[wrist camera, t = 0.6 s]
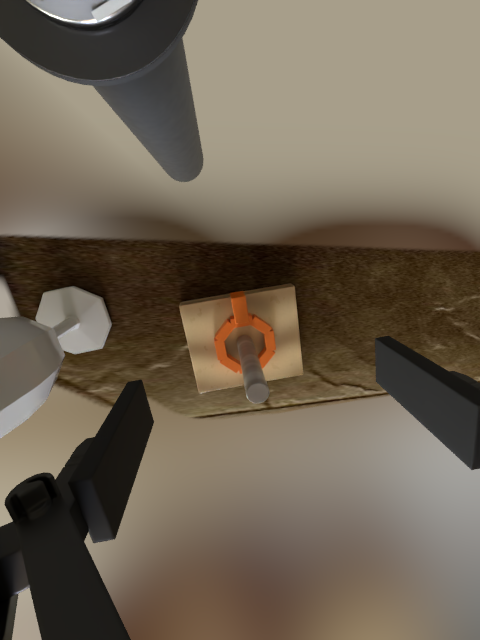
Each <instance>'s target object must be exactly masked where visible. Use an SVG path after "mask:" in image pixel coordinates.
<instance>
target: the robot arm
mask: <svg viewBox="0 0 480 640" xmlns="http://www.w3.org/2000/svg"><path fill="white" fill-rule="evenodd" d="M23 1H24V2H25V3H26V4H28V5H29V6H30V7H31V8H32V9H33V10H35V11H36V12H37V13H39V14H40V15H42V16H43V17H45V18H46V19H48V20H50V21H52V22H54V23H56V24H58V25H61V26H63V27H66V28H70V29H73V30H80V31H98V30H103V29H107V28H110V27H113V26H115V25H117V24H119V23H121V22H122V21H124V20H125V19H127V18H128V17H129V16H130V15H132V14H133V13H134V12H135V11H136V9H137V8H138V7H139V6H140V5H141V3H142V2H143V1H144V0H23ZM375 353H376V382H377V383H378V384H379V385H380V386H381V387H382V388H383V389H385V390H386V391H387V392H388V393H389V394H390V395H391V396H392V397H393V398H395V400H396V401H398V402H399V403H400V404H401V405H402V406H403V407H404V408H405V409H406V410H407V411H408V412H410V413H411V414H412V415H413V416H414V417H415V418H416V419H417V420H418V421H419V422H420V423H421V424H423V425H424V426H425V427H426V428H427V429H428V430H429V431H430V432H431V433H432V434H433V435H434V436H435V437H437V438H438V439H439V440H440V441H441V442H442V443H443V444H444V445H445V446H446V447H447V448H449V449H450V450H451V451H452V452H453V453H454V454H455V455H456V456H457V457H458V458H459V459H460V460H461V461H463V462H464V463H465V464H466V465H467V466H468V467H469V468H470V469H471V470H474V469H479V468H480V383H478V382H477V381H476V380H474V379H472V378H470V377H468V376H467V375H464V374H461V373H458V372H455V371H450V372H449V371H447V370H446V369H444V368H442V367H440V366H439V365H437V364H435V363H434V362H432V361H430V360H429V359H427V358H425V357H424V356H422V355H420V354H418V353H417V352H415V351H413V350H412V349H410V348H408V347H407V346H405V345H403V344H402V343H400V342H398V341H396V340H395V339H393V338H391V337H390V336H385V337H379V338H375ZM153 423H154V420H153V417H152V414H151V410H150V407H149V403H148V400H147V396H146V393H145V389H144V386H143V382H142V380H137V381H131V382H128V383H127V384H126V386H125V388H124V389H123V391H122V393H121V394H120V396H119V398H118V399H117V401H116V403H115V404H114V406H113V408H112V409H111V411H110V413H109V414H108V416H107V418H106V419H105V421H104V423H103V424H102V426H101V428H100V429H99V431H98V433H97V434H96V436H95V437H93V438H87V439H86V440H84V441H83V442H82V443H81V444H80V445H79V446H78V447H77V448H76V449H75V451H74V452H73V454H72V455H71V457H70V459H69V460H68V461H67V463H66V464H65V467H63V469H62V471H61V472H60V473H59V475H58V477H57V478H56V480H55V479H54V477H53V475H52V474H50V473H41V474H36V475H34V476H32V477H30V478H28V479H26V480H24V481H23V482H21V483H20V484H18V485H17V486H16V487H15V488H14V489H13V490H12V491H11V492H10V493H9V494H8V496H7V497H6V500H5V506H6V508H7V510H8V512H9V514H10V516H11V518H12V519H13V522H11V523H8V524H6V525H4V526H1V527H0V640H12V634H13V627H14V620H15V613H16V606H17V599H18V593H20V592H22V591H24V590H25V589H28V588H30V591H31V595H32V599H33V604H34V608H35V612H36V617H37V621H38V625H39V630H40V634H41V638H42V640H131V639H130V637H129V635H128V633H127V631H126V629H125V627H124V624H123V622H122V620H121V618H120V616H119V614H118V612H117V610H116V608H115V606H114V604H113V602H112V599H111V597H110V595H109V593H108V591H107V589H106V587H105V585H104V583H103V581H102V578H101V576H100V574H99V572H98V570H97V568H96V566H95V564H94V562H93V560H92V557H91V555H90V553H89V551H88V549H87V547H86V545H85V543H84V540H85V538H86V536H87V533H88V532H89V534H90V536H91V538H92V541H93V543H97V542H102V541H108V540H113V539H115V538H116V535H117V532H118V529H119V526H120V523H121V520H122V517H123V514H124V510H125V508H126V505H127V502H128V499H129V495H130V493H131V490H132V487H133V484H134V481H135V478H136V475H137V472H138V469H139V466H140V462H141V460H142V457H143V454H144V450H145V447H146V445H147V441H148V438H149V436H150V433H151V429H152V426H153Z"/></svg>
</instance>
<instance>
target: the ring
mask: <svg viewBox="0 0 480 640" xmlns="http://www.w3.org/2000/svg"><path fill="white" fill-rule="evenodd" d="M230 297H231V302H232V308H233V314H234V316H230V320H229V319H226V320H225V322H224V323H223V324H222V326H221V327H220V328H219V330H218V331H217V332H216V334H215V338H214V343H215V348H216V353H217V359H218V360H220V363H221V364H222V365H224V366H225V367H227V368H229V369H230V370H232V371H234V372H235V373H237V372H238V371H239V373H240V374H242V369H241V363H240V361H239V360H237V359H235V358H234V357H232V356H231V355H229V354H228V353H227V351H226V346H225V340H226V338H227V337H228V336H229V334H230V333H231V332H232V330H233V329H234V328H238V327H244V326H249V325H251V326H253V327H254V328H256V329H257V330H259V331H260V332H262V333H263V335H264V342H265V347H264V348H263V349H262V351H261V352H260V353H259V355H258V358H259V361H260V364H261V367H262V369H263V368H264V367H265V365H266V364H267V363H268V362H269V360H270V359H271V358H272V357H273V355H274V354H275V351H274V350H276V344H275V336H274V330H273V329H272V327H271V325H270V324H268V323H267V322H265V321H264V320H262V319H261V318H260V317H258V316H257V315H255V314H253V316H252V315H251V313H248V309H247V302H246V296H245V294H244V292H243V291H239V292H234V293H230Z"/></svg>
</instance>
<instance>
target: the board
mask: <svg viewBox="0 0 480 640" xmlns="http://www.w3.org/2000/svg"><path fill="white" fill-rule="evenodd" d="M243 292H244V294H245V296H246V302H247V309H248V313H251V315H252V316H253V314H255V315H257V316H258V317H260V318H261V319H262V320H264V321H265V322H267V323H268V324H270V325H271V327H272V329H273V330H274V336H275V344H276V350H274V351H275V354H274V355H273V357H272V358H271V359H270V360H269V362H268V363H267V364H266V365H265V367H264V368H263V369H262V367H261V364H260V361H259V358H258V355H259V353H260V352H261V351H262V349H263V348H264V347H265V342H264V335H263V333H262V332H260V331H259V330H257V329H256V328H254V327H253V326H251V325H249V326H244V327H238V328H234V329H233V330H232V332H231V333H230V334H229V336H228V337H227V338H226V340H225V346H226V351H227V353H228V354H229V355H231V356H232V357H234V358H235V359H237V360H239V361H240V363H241V369H242V374H240V373H239V371H238V372H237V373H235V372H234V371H232V370H230V369H229V368H227V367H225V366H224V365H222V364H221V363H220V360H218V359H217V353H216V348H215V343H214V338H215V334H216V332H217V331H218V330H219V328H220V327H221V326H222V324H223V323H224V322H225V320H226V319H229V320H230V316H234V314H233V308H232V302H231V297H230V294H225V295H219V296H213V297H207V298H202V299H196V300H190V301H184V302H181V303H180V305H179V308H180V312H181V317H182V321H183V325H184V330H185V334H186V338H187V343H188V347H189V352H190V356H191V360H192V365H193V369H194V373H195V378H196V382H197V387H198V391H199V393H203V392H208V391H214V390H219V389H225V388H230V387H236V386H241V385H245V391H246V396H247V398H248V399H249V400H250V401H251V402H253V403H261V402H264V401H265V400H266V399H267V398H268V396H269V388H268V385H267V382H266V381H269V380H275V379H280V378H286V377H292V376H297V375H303V366H302V355H301V345H300V335H299V325H298V315H297V305H296V295H295V286H294V285H292V284H291V283H290V284H284V285H278V286H272V287H266V288H260V289H254V290H249V291H243Z"/></svg>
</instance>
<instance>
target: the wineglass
mask: <svg viewBox="0 0 480 640" xmlns="http://www.w3.org/2000/svg"><path fill="white" fill-rule="evenodd" d="M36 320H37V322H35V321H33V320H30V319H28V318H25V317H10V318H0V438H1V437H3V436H4V435H6V434H7V433H9V432H10V431H11V430H13V429H14V428H16V427H17V426H19V425H20V424H22V423H23V422H24V421H26V420H27V419H28V418H29V417H30V416H31V415H32V414H33V413H34V412H35V411H36V410H37V409H38V408H39V407H40V406H41V405H42V404H43V403H44V402H45V401H46V400H47V398H48V396H49V393H50V391H51V389H52V387H53V385H54V383H55V381H56V379H57V376H58V374H59V371H60V368H61V365H62V362H63V360H64V357H65V354H64V351H63V350H65V351H67V352H70V353H73V354H78V353H83V352H87V351H92V350H97V349H101V348H103V346H104V344H105V341H106V338H107V336H108V333H109V331H110V328H111V325H112V322H111V319H110V316H109V314H108V311H107V308H106V305H105V303H104V300H103V298H102V297H100V296H98V295H95V294H93V293H90V292H88V291H86V290H83V289H81V288H78V287H76V286H70V287H65V288H61V289H56V290H51V291H47V292H44V293H43V296H42V299H41V303H40V306H39V309H38V312H37V316H36Z"/></svg>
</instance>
